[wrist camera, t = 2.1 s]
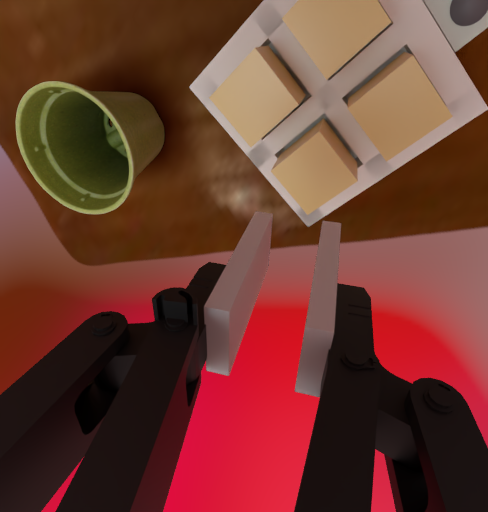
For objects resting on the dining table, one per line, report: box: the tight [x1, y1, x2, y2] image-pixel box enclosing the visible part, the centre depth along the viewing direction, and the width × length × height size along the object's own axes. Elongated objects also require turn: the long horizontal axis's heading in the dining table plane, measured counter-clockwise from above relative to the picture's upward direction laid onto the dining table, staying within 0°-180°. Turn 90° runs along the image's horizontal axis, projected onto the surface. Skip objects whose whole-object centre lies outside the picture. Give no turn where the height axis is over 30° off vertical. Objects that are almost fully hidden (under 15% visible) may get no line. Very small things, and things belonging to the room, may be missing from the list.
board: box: [189, 0, 488, 227], centre depth 25 cm, size 14×14×4 cm
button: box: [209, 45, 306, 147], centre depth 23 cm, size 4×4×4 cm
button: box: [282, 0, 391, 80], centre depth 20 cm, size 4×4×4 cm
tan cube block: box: [271, 119, 358, 215], centre depth 25 cm, size 4×4×4 cm
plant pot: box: [16, 81, 165, 214], centre depth 29 cm, size 9×9×9 cm
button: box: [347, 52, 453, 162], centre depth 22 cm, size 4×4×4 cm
